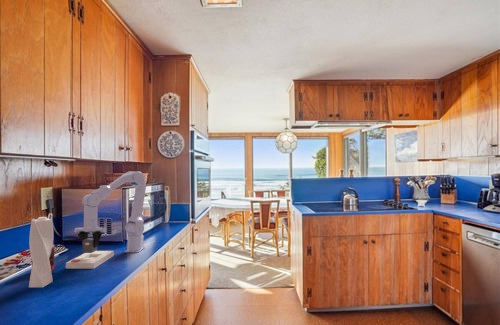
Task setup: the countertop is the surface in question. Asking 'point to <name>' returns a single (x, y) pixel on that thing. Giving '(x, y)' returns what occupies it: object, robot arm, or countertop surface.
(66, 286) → the countertop surface
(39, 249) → the skyscraper
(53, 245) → the canned food
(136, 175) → the robot arm
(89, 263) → the socket plate
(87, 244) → the plug
